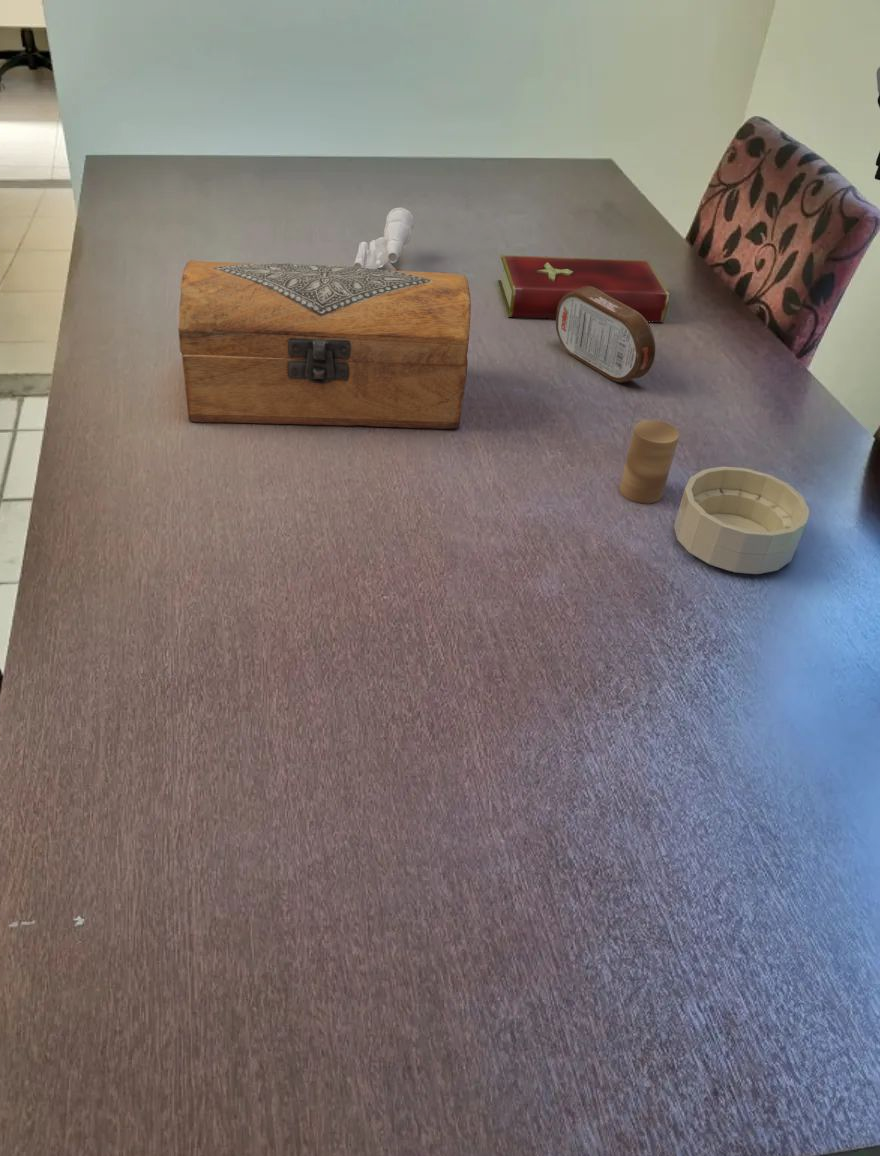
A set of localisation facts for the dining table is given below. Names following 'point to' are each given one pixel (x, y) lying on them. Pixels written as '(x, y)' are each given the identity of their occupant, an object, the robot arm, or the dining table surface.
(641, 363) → the tin
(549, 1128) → the dining table surface
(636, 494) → the wooden cylinder
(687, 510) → the bowl
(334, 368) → the wooden box
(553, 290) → the hardcover book
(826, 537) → the dining table surface
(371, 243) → the toy cannon
